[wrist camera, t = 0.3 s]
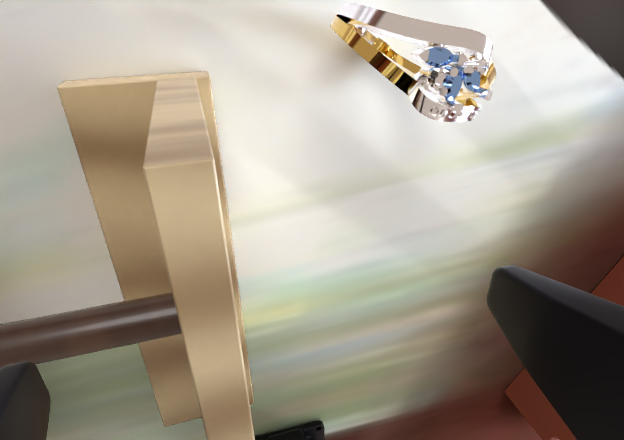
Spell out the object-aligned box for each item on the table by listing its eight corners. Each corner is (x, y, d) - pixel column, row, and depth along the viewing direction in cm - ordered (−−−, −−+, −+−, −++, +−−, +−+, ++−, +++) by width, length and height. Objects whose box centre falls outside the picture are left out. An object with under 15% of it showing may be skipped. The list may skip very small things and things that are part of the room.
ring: (297, 37, 19) (362, 67, 13) (335, -30, 18) (426, -35, 12) (401, 111, 23) (496, 166, 16) (438, 58, 22) (555, 93, 15)
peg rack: (251, 390, 30) (286, 570, 21) (-19, 457, 26) (-123, 715, 17) (208, 70, 19) (240, 155, 10) (-273, 104, 15) (-968, 298, 6)
